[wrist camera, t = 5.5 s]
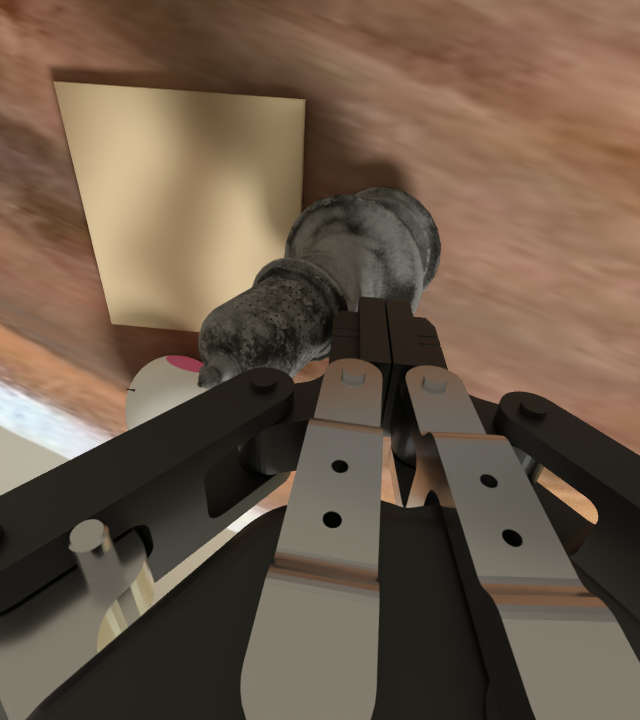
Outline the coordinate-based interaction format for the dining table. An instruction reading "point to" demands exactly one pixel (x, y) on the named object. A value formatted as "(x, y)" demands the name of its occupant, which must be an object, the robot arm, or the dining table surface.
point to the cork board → (182, 193)
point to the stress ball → (161, 388)
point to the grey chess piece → (322, 282)
